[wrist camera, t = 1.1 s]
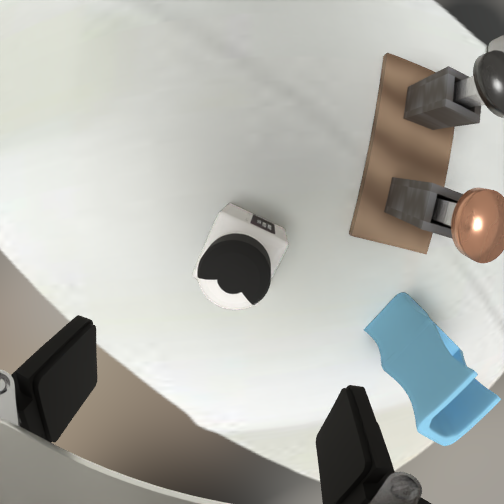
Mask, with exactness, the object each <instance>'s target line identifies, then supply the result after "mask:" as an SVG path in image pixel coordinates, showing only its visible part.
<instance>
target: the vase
mask: <svg viewBox="0 0 504 504" xmlns="http://www.w3.org/2000/svg"><path fill="white" fill-rule="evenodd" d="M364 331H366V332H367V333H368V334H369V335H370V336H371V337H372V338H373V339H374V340H375V342H376V343H377V345H378V347H379V350H380V354H381V363H382V367H383V369H384V371H385V372H387V373H388V374H389V375H390V376H391V377H393V378H394V379H395V380H396V381H397V382H398V383H399V384H400V385H401V386H402V387H403V389H404V390H405V391H406V393H407V394H408V396H409V398H410V401H411V403H412V406H413V410H414V414H415V419H416V427H417V431H418V432H419V433H420V434H422V435H424V436H425V437H427V438H429V439H431V440H433V441H435V442H436V443H438V444H441V445H443V446H447V445H450V444H452V443H454V442H455V441H457V440H458V439H459V438H460V437H462V436H463V435H464V434H465V433H467V432H468V431H469V430H470V429H471V428H472V427H473V426H474V425H475V424H477V423H478V422H479V421H480V420H481V419H482V418H483V417H484V416H485V415H486V414H487V413H488V412H489V411H490V410H491V409H492V408H493V407H494V406H495V405H496V404H497V403H498V402H499V401H500V400H501V399H500V398H499V397H498V396H497V395H496V394H494V393H493V392H491V391H490V390H489V389H487V388H486V387H485V386H483V385H482V384H481V383H479V382H478V381H477V380H476V379H475V377H476V376H477V375H478V374H477V373H476V372H475V371H474V370H472V369H470V368H469V367H467V366H466V363H465V360H464V356H463V352H462V351H461V350H460V348H459V347H458V346H457V345H456V344H455V343H454V342H453V341H452V340H451V339H450V338H449V337H448V336H447V335H446V334H445V333H444V332H443V331H442V330H441V329H440V328H439V327H438V326H437V325H436V324H435V323H434V322H433V321H432V320H431V319H430V318H429V316H428V314H427V313H426V312H425V311H424V310H423V309H422V308H421V307H420V306H419V305H418V304H417V303H416V302H415V301H414V300H413V299H412V298H411V297H410V296H409V295H408V294H406V293H404V292H403V293H399V294H397V295H396V296H395V297H394V298H393V299H392V300H391V301H390V302H389V303H388V305H387V306H386V307H385V308H384V309H383V310H382V311H381V312H380V313H379V314H378V315H377V316H376V318H375V319H374V320H373V321H372V322H371V323H370V324H369V325H368V326H367V327H366V328H365V329H364Z"/></svg>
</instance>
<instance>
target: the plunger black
mask: <svg viewBox="0 0 504 504" xmlns="http://www.w3.org/2000/svg"><path fill="white" fill-rule="evenodd" d="M453 102H454V103H456V104H458V105H460V106H462V107H464V108H466V109H467V108H472V107H476V106H481V105H486V106H487V108H488V109H489V110H490V111H491V112H493V113H494V114H495V115H497V116H499V117H502V118H504V52H502V51H499V50H493V51H490V52H488V53H486V54H483V55H481V56H479V57H478V58H477V60H476V61H475V64H474V69H473V76H472V77H469V78H466V79H464V80H461V81H458V82H456V83H454V93H453Z"/></svg>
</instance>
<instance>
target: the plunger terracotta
mask: <svg viewBox="0 0 504 504" xmlns="http://www.w3.org/2000/svg"><path fill="white" fill-rule="evenodd" d="M431 219H434V220H437V221H439V222H442V223H444V224H447V225H449V226H451V233H452V238H453V241H454V244H455V246H456V247H457V249H458V250H459V251H460V252H461V253H462V254H463V255H465V256H467V257H468V258H470V259H472V260H474V261H476V262H478V263H488V262H491V261H493V260H494V259H496V258H497V257H498V256H499V255H500V254H501V253H502V252H503V250H504V197H503V196H502V195H501V194H500V193H498V192H497V191H494V190H489V189H484V188H473V189H471V190H469V191H467V192H466V193H464V194H463V195H462V196H461V198H460V199H459V200H458V202H457V203H453V202H449V201H446V200H442V199H438V198H436V202H435V206H434V210H433V214H432V218H431Z"/></svg>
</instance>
